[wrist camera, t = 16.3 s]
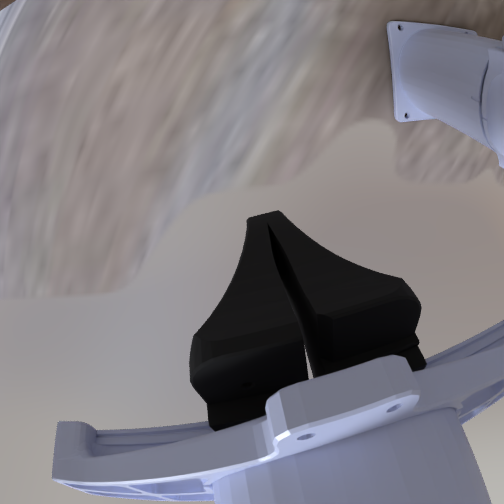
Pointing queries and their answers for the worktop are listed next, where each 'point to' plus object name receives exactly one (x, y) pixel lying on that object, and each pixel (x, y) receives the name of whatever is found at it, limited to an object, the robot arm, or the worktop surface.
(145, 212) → the worktop surface
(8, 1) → the walnut domino
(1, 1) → the walnut domino
